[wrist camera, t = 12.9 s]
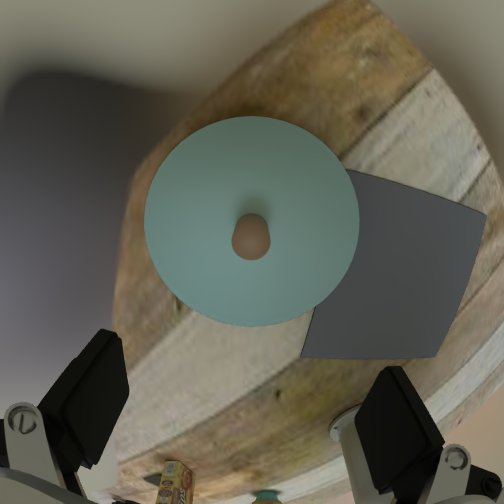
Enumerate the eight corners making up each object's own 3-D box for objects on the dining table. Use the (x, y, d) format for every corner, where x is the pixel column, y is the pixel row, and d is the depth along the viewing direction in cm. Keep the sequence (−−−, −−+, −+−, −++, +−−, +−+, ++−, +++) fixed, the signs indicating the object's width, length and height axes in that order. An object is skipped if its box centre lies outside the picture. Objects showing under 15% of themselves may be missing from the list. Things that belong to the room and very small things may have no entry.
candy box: (164, 460, 47) (152, 511, 33) (179, 460, 47) (168, 513, 32) (183, 475, 50) (174, 522, 35) (197, 475, 49) (190, 524, 35)
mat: (485, 215, 29) (486, 215, 29) (433, 355, 37) (434, 357, 37) (345, 169, 28) (347, 169, 28) (300, 355, 36) (300, 357, 36)
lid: (372, 142, 25) (396, 139, 20) (328, 330, 31) (340, 357, 26) (159, 110, 24) (139, 99, 19) (146, 305, 31) (129, 330, 25)
